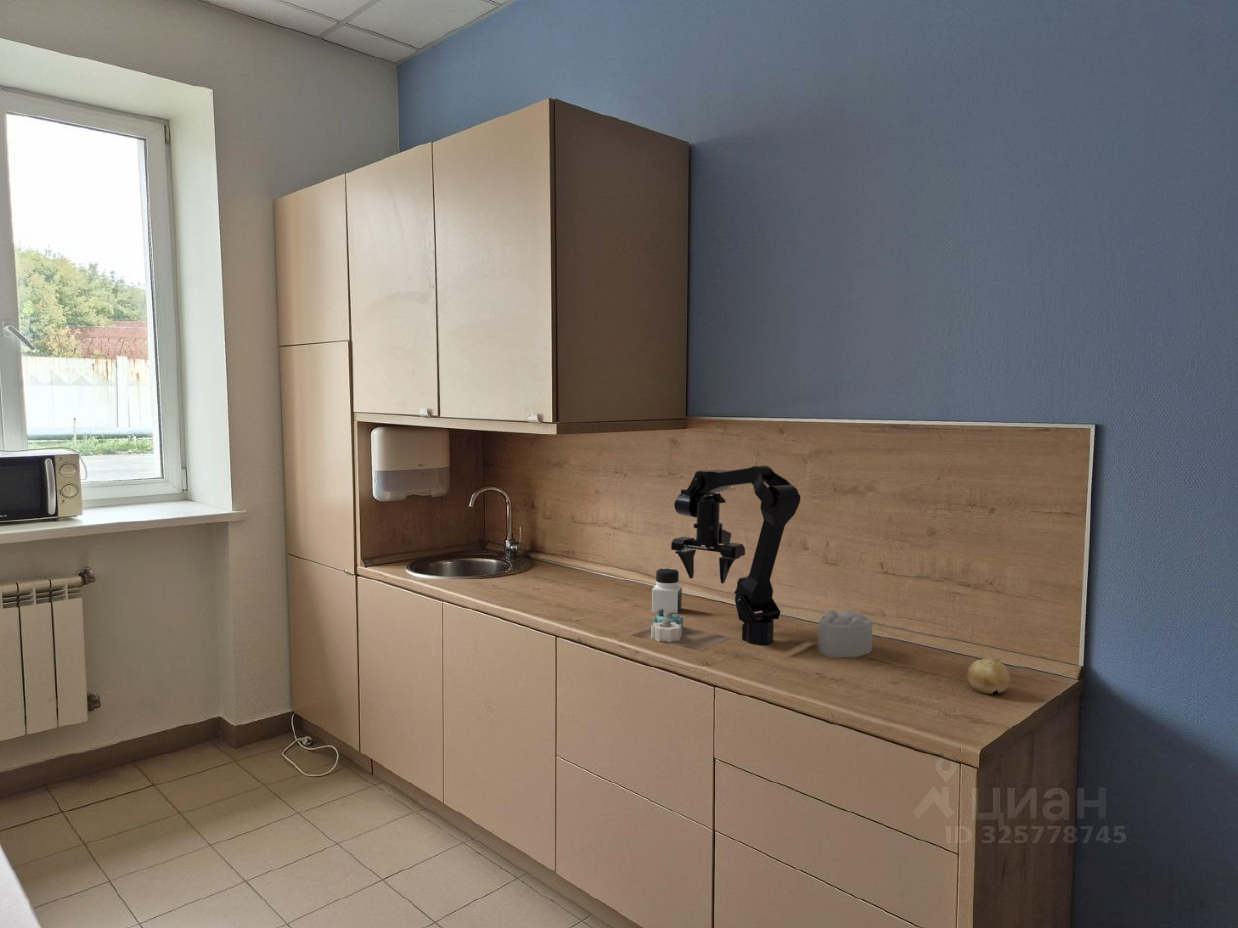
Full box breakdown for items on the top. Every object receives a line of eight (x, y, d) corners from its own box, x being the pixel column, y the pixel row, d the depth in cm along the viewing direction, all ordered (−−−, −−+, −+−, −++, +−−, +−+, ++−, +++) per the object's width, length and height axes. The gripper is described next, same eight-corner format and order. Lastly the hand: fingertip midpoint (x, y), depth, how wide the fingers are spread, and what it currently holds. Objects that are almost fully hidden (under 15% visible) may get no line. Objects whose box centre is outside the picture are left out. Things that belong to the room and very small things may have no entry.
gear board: (731, 641, 204) (732, 620, 204) (701, 654, 193) (701, 633, 193) (662, 627, 216) (663, 607, 216) (630, 639, 205) (630, 618, 205)
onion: (1010, 700, 166) (1011, 664, 165) (966, 694, 169) (967, 659, 169) (1008, 687, 173) (1010, 653, 173) (966, 682, 176) (968, 648, 176)
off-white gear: (670, 643, 198) (670, 631, 198) (645, 638, 202) (645, 626, 202) (687, 637, 204) (687, 624, 204) (662, 632, 208) (662, 619, 208)
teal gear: (688, 628, 212) (688, 610, 211) (672, 634, 206) (672, 615, 205) (664, 623, 216) (664, 605, 216) (647, 629, 210) (648, 611, 210)
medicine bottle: (678, 616, 227) (678, 572, 226) (651, 615, 228) (652, 571, 227) (681, 610, 234) (682, 567, 233) (655, 608, 235) (656, 565, 234)
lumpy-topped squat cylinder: (877, 650, 198) (879, 614, 197) (843, 661, 190) (844, 623, 189) (840, 640, 206) (841, 605, 205) (806, 650, 198) (807, 613, 197)
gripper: (756, 519, 215) (754, 580, 217) (693, 513, 227) (692, 571, 228) (734, 524, 206) (733, 588, 208) (670, 517, 218) (669, 577, 219)
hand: (706, 580), depth 216 cm, fingers open, 9 cm apart
